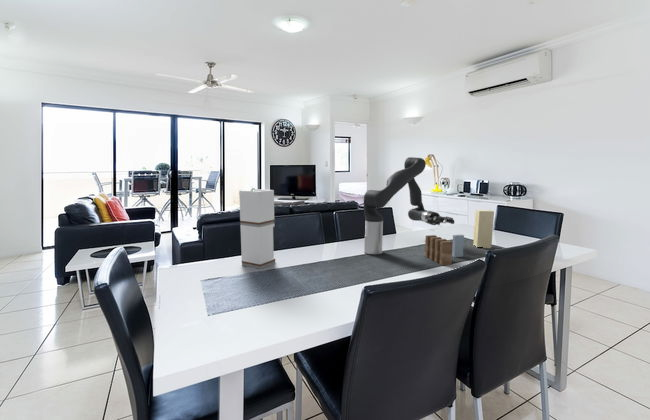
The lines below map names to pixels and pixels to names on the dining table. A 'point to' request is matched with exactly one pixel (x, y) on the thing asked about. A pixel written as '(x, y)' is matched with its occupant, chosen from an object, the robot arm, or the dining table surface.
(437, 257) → the walnut domino
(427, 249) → the walnut domino
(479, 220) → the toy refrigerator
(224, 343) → the dining table surface
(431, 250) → the walnut domino
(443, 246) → the walnut domino
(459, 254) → the slate domino
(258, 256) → the white banded tower
